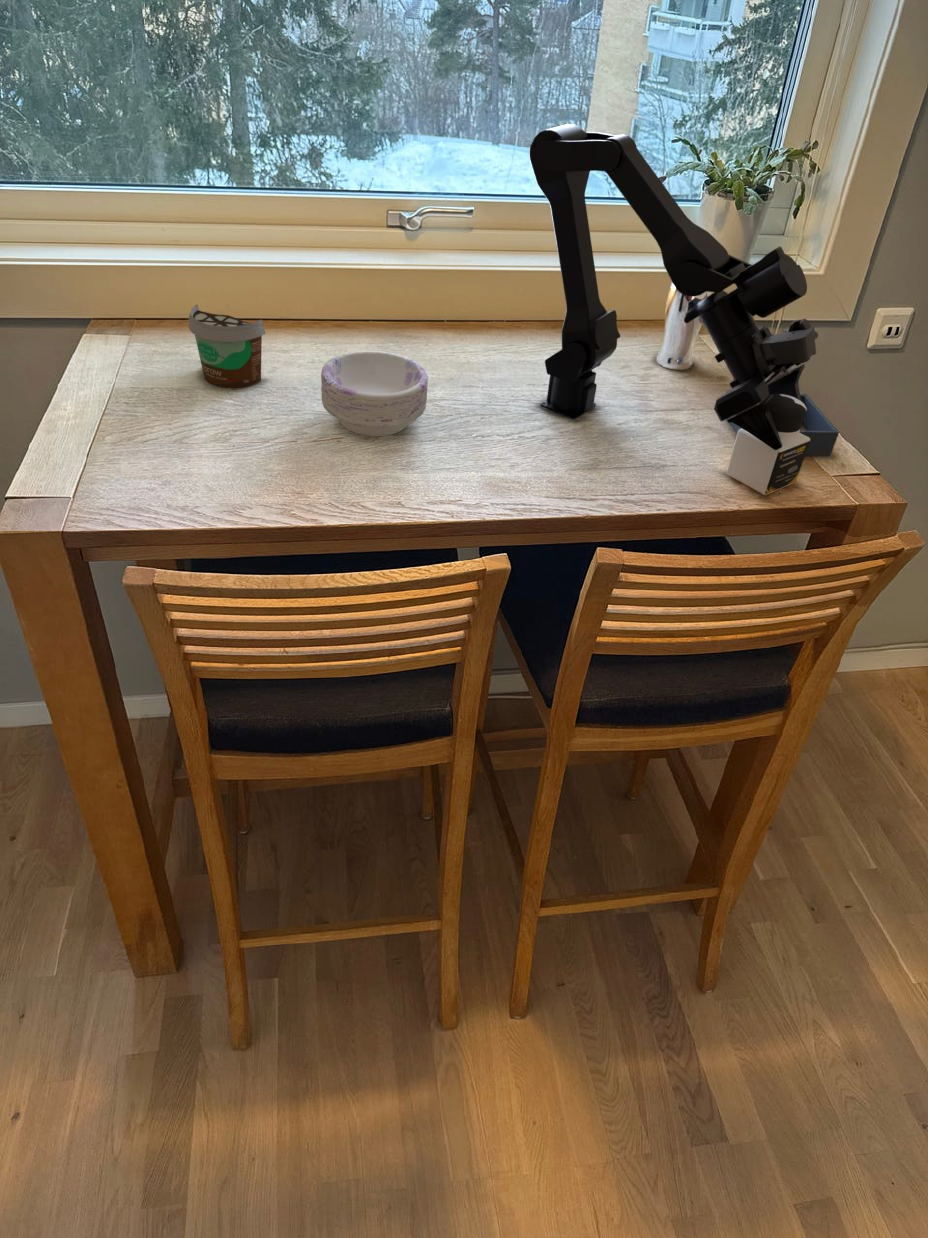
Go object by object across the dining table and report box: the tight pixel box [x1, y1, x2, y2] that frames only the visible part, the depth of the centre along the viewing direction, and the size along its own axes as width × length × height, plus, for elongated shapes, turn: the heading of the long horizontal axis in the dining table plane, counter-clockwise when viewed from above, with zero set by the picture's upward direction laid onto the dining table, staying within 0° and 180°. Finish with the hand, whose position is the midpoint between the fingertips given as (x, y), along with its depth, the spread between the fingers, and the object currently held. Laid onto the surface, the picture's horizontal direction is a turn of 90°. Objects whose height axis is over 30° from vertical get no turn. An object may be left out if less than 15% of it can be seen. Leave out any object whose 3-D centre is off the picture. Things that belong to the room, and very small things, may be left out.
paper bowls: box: [320, 350, 429, 437], centre depth 130 cm, size 15×15×8 cm
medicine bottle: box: [726, 394, 810, 496], centre depth 124 cm, size 7×7×12 cm
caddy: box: [726, 393, 840, 457], centre depth 137 cm, size 12×12×4 cm
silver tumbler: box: [656, 281, 712, 371], centre depth 152 cm, size 7×7×15 cm
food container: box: [187, 303, 267, 389], centre depth 136 cm, size 12×6×10 cm, turn 68°
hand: (790, 436), depth 122 cm, fingers open, 9 cm apart
